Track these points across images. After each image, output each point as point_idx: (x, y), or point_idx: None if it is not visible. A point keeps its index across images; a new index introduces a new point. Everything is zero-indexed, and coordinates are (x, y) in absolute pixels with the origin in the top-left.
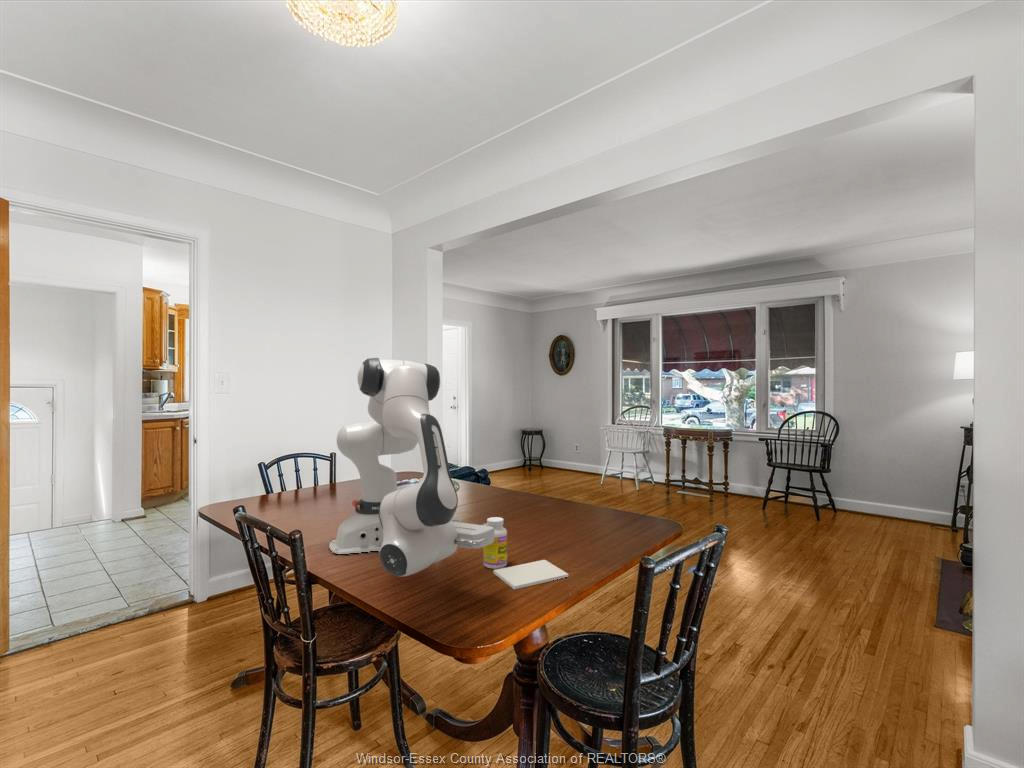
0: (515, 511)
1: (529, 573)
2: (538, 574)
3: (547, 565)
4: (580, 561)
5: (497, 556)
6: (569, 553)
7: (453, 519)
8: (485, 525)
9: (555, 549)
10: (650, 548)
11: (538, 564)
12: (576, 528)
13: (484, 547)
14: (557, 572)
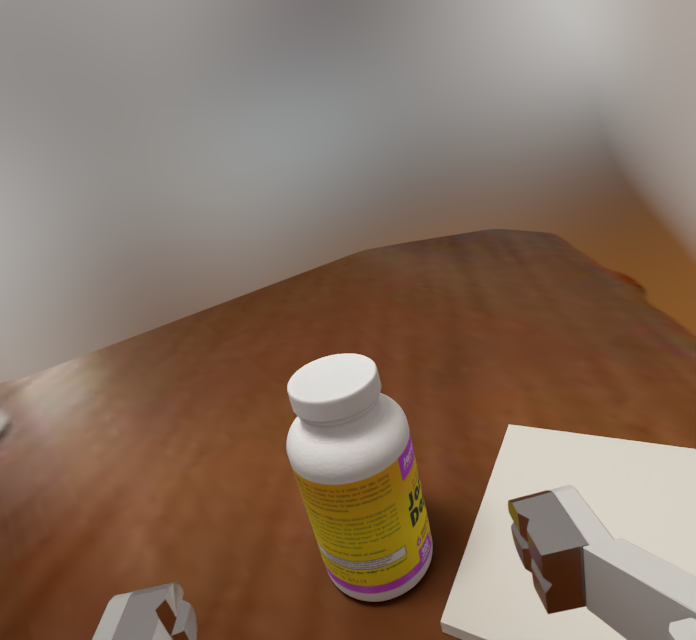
0: (209, 318)
1: None
2: (640, 523)
3: (567, 447)
4: (582, 373)
5: (413, 538)
6: (503, 362)
7: (112, 613)
8: (643, 558)
9: (447, 368)
10: (613, 271)
11: (534, 459)
12: (390, 297)
13: (331, 532)
14: (664, 465)
